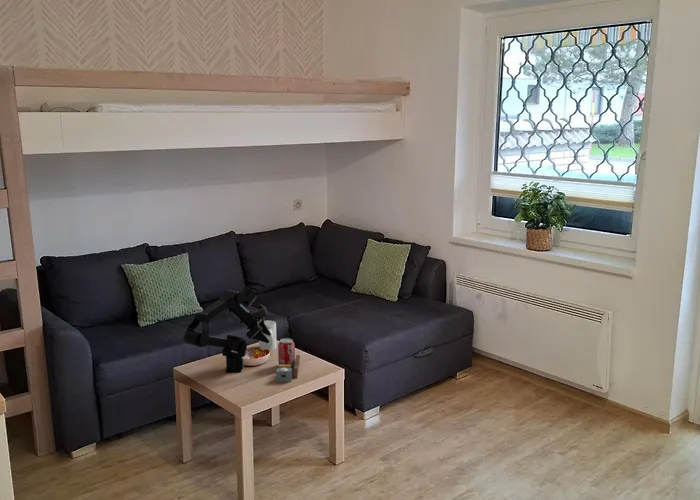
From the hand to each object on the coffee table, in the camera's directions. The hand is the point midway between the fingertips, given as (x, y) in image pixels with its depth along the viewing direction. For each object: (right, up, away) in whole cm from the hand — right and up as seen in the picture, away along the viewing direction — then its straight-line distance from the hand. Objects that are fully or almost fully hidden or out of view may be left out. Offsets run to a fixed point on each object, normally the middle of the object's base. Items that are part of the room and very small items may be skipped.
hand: (269, 338), depth 279 cm
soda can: (+7, -13, +3) cm, 15 cm away
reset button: (+7, -13, -8) cm, 17 cm away
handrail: (+12, -13, -2) cm, 18 cm away
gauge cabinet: (+7, -15, -11) cm, 20 cm away
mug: (-3, -8, +23) cm, 25 cm away
